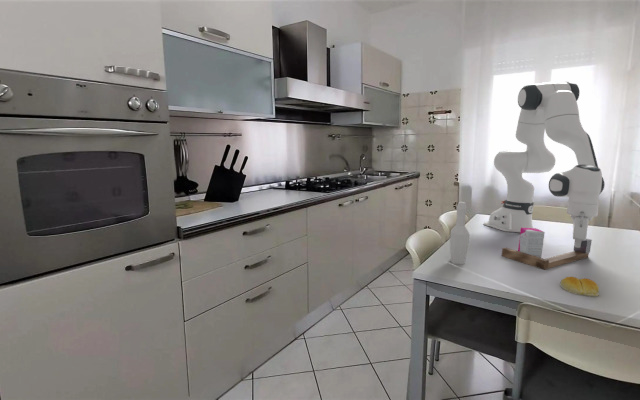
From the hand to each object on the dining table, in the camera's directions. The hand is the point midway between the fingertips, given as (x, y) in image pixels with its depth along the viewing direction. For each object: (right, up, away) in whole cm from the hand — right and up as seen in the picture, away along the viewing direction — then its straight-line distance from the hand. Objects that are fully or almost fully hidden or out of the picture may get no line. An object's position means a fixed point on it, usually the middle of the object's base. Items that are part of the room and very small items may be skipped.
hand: (577, 246), depth 124 cm
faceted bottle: (-46, -5, -4) cm, 46 cm away
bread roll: (-19, -10, -26) cm, 34 cm away
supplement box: (-18, -5, 0) cm, 19 cm away
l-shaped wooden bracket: (-10, -4, +2) cm, 11 cm away
